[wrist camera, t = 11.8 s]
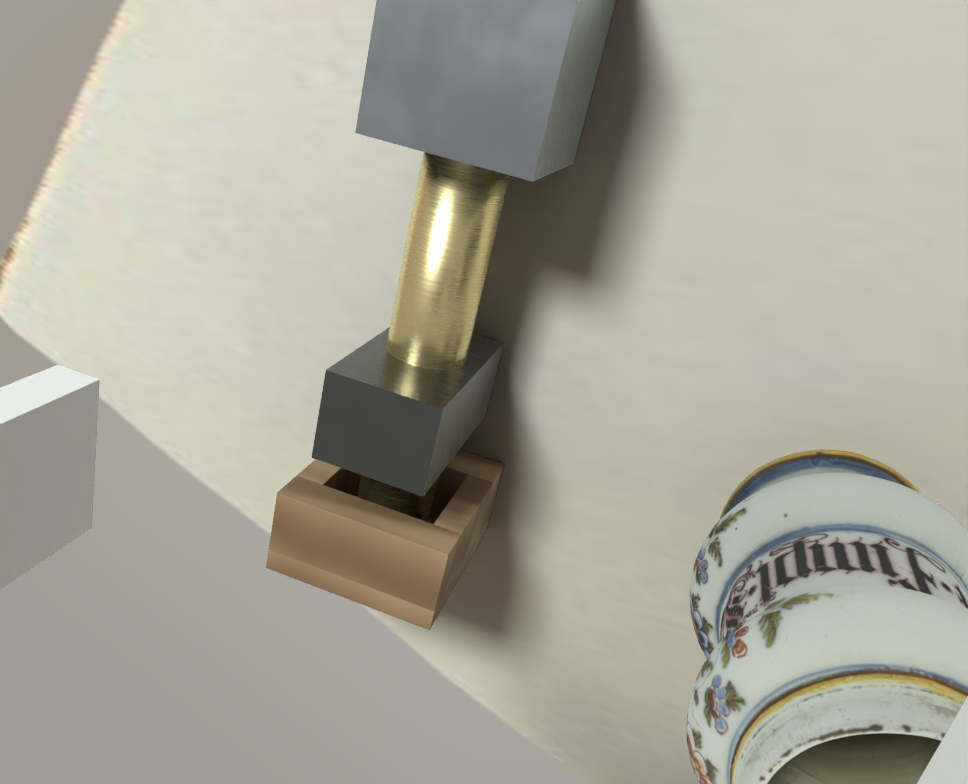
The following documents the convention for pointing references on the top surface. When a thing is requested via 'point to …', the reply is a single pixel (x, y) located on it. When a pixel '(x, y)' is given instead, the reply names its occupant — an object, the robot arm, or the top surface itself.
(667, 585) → the top surface
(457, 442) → the tube
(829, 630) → the apothecary jar
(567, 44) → the sleeve
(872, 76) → the top surface
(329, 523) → the socket block
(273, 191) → the top surface
